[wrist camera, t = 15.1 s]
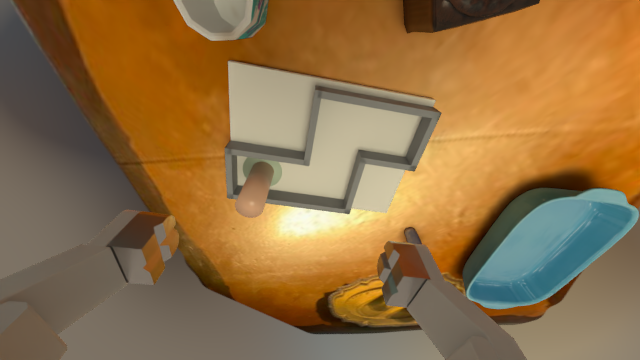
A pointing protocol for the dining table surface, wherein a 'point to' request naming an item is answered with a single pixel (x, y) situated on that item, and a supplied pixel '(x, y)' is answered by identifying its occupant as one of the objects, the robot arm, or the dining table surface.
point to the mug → (224, 17)
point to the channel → (324, 137)
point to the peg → (255, 190)
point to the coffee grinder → (455, 12)
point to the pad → (276, 165)
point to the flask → (412, 236)
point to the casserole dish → (544, 244)
